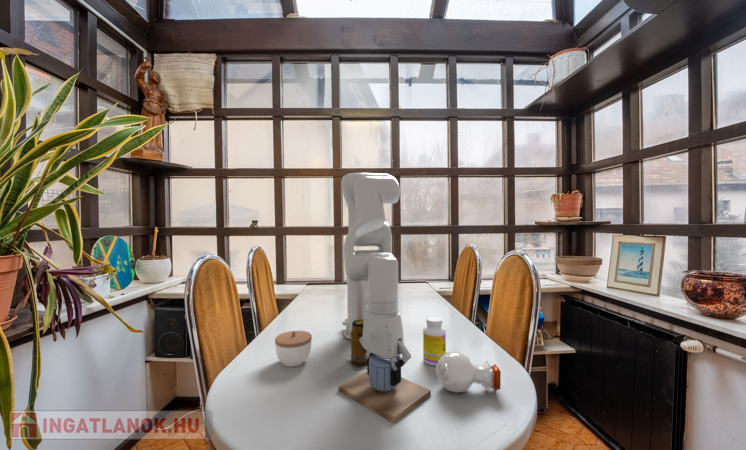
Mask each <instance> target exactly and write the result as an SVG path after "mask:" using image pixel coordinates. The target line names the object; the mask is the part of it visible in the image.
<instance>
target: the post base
mask: <svg viewBox="0 0 746 450" xmlns="http://www.w3.org/2000/svg"><path fill="white" fill-rule="evenodd" d="M337 388H338V392H340V393H341V394H343V395H345V396H347V397H348V398H350V399H352V400H354V401H355V402H356V403H358V404H360V405H362V406H364V407H365V408H367V409H368V410H371V411H372V412H375V414H378V415H380V416H381V417H382V418H384V419H387V421H389V422H391V423H396V422H397V421H399V420H400V419H401V418H403V417H405V415H407V414H408V413H409V412H411V411H412V410H413V409H414V408H416V407H417V406H418V405H420V404H421V403H422V402H424V401H426V399H427V398H429V397H430V396H431V394H432V392H431V391H432V390H431V389H429V388H426V387H424V386H422V385H420V384H417V383H415V382H413V381H410V380H409V379H407V378H404V377H402V376H401V382H400V383H398V385H397V386H396V387H395V388H393V389H391V390H377V389H375V388H373V387H371V385H370V384H369V375H368V374H367V371H365V372H362V373H361V374H359V375H357V376H355V377H353V378H352V379H350V380H348V381H345V382H344V383H342V384H340V385H338V386H337Z"/></svg>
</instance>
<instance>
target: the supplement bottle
mask: <svg viewBox="0 0 746 450" xmlns="http://www.w3.org/2000/svg"><path fill="white" fill-rule="evenodd" d="M425 321H426V322H425V323H426V325H425V326H424V327H423V329H422V333H423V334H422V336H423V337H422V340H423V341H422V342H423V343H422V345H423V346H422V347H423V348H422V349H423V350H422V351H423V352H422V353H423V355H422V356H423V357H422V360H423V361H424V363H426V365H430V366H433V367H434V366H435V367H436V366H437V362H438V361H439V359H440V358H441V357H442V356H443V355H444V353H446V350H447V349H446V348H447V347H446V345H447V344H446V328H445V327H443V326H442V325H443V319H442V318H441V317H438V316H427V317H426V320H425Z"/></svg>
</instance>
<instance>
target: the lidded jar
mask: <svg viewBox="0 0 746 450" xmlns="http://www.w3.org/2000/svg"><path fill="white" fill-rule="evenodd" d="M274 345H275V353H276V355H277V356H276V357H277V358H278V360H279V361H280V362H281V363H282V364H283V366H285V365H286V366H285V367H287V366H290V367H289V368H293V367H292V366H296V367H300V366H301V365H303V364H304V363H305V361H306V360H307V359H308V357H309V355H310V352H311V349H312V334H311V333H310V332H309V331H306V330H290V331H286V332H283V333H280V334H278V335H277V336H276V337H275V339H274Z"/></svg>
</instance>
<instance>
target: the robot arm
mask: <svg viewBox="0 0 746 450" xmlns="http://www.w3.org/2000/svg"><path fill="white" fill-rule="evenodd" d="M341 189H342V190H341V191H342V194H343V198H344V200H345V203H346V206H347V211H348V214H347V217H348V219H347V224H348V225H347V226H348V231H347V234H346V235H345V239H344V242H343V259H344V263H343V264H344V272H345V275H346V292H347V294H346V295H347V296H346V297H347V306H346V307H347V318H345V319H344V321H343V322H342V325H343V326H345V329H344V331H343V337H344V338H345V339H346V340H347V339H348V340H350V341H351V331H352V323H353V321H354V320H358V319H364V324H363V336H362V337H361V338H360V339H359V341H360V343H361V345H362V346H363V350H364V352H365V357H366V358H367V368H366V370H367V371H366V372H367V374H368V375H369V357H370V356H371V355H372V354H375V355H378V356H380V357H383V358H385V359H389V360H390V362H391V365H392V368H393V369H391V370H390V384H391V386H393V387H394V386H395V385H397V384H398V383H400V382H401V377H402V367H404V366H405V365H406V364H407V362H408V361H410V359H412V354H411V353H410V351H409V350H408V349H407V347H406V346H405V344H404V328H403V321H402V315H401V313H400V312H399V262H398V258H396V257H395V255H394V254H393V253H392V245H393V244H392V242H393V241H392V239H393V238H392V228H391V226H390V224H389V223H388V222H387V221H386V215H385V209H384V204H385V205H386V204H387V205H389V204H390V205H391V204H392V205H393V204H397V202H398V201H400V196H401V188H400V183H399V182H398V180H397V179H396V177H395V176H393V175H391V174H389V173H382V172H381V173H380V172H379V173H378V172H375V173H373V172H351V173H346V174H345V175H344V176H342V178H341ZM355 247H360V248H362V247H377V248H378V249H355ZM395 357H396V360H397V363H396V361H395Z"/></svg>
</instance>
